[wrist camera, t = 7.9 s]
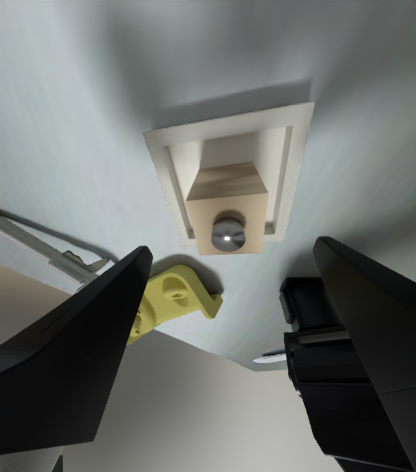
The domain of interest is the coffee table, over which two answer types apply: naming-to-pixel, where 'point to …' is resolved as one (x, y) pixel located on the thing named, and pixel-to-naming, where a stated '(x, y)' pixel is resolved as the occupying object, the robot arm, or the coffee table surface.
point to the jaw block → (228, 209)
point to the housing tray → (234, 159)
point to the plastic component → (172, 299)
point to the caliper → (53, 255)
